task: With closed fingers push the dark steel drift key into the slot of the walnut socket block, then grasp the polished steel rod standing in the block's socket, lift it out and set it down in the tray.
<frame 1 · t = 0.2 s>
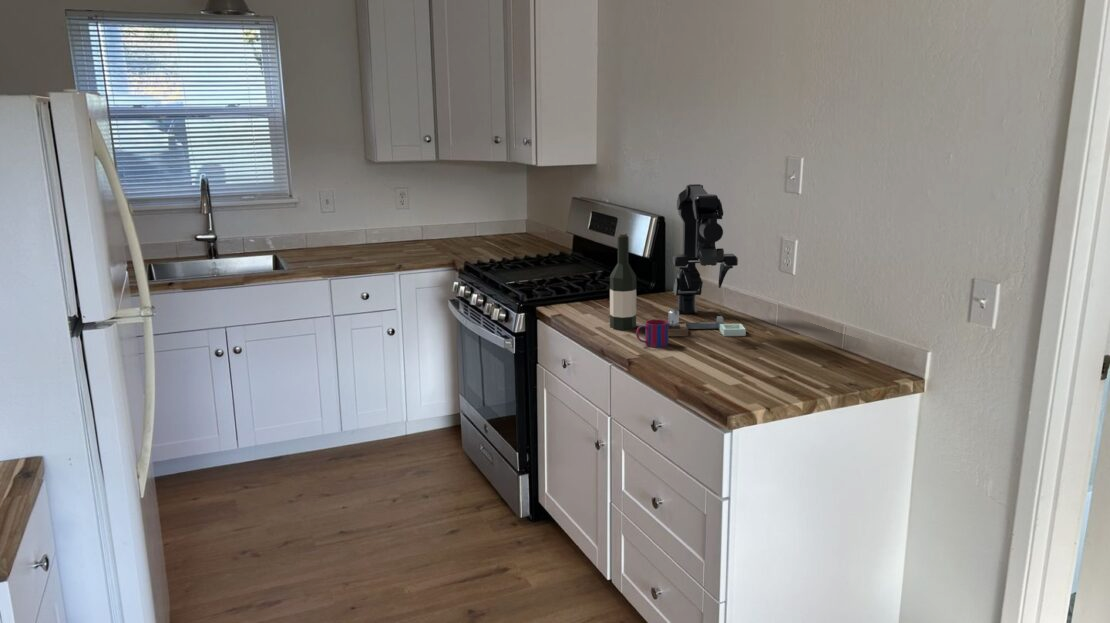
hand: (704, 287, 249), 14 cm above the countertop, fingers open, 9 cm apart
drift key: (704, 322, 257), point 2 cm above the countertop, slide at 0.0 cm
socket block: (672, 331, 254), on the countertop
wine bottle: (623, 327, 261), on the countertop
tray: (732, 333, 251), on the countertop
mug: (651, 345, 241), on the countertop
polished steel rod: (673, 333, 252), resting in socket block
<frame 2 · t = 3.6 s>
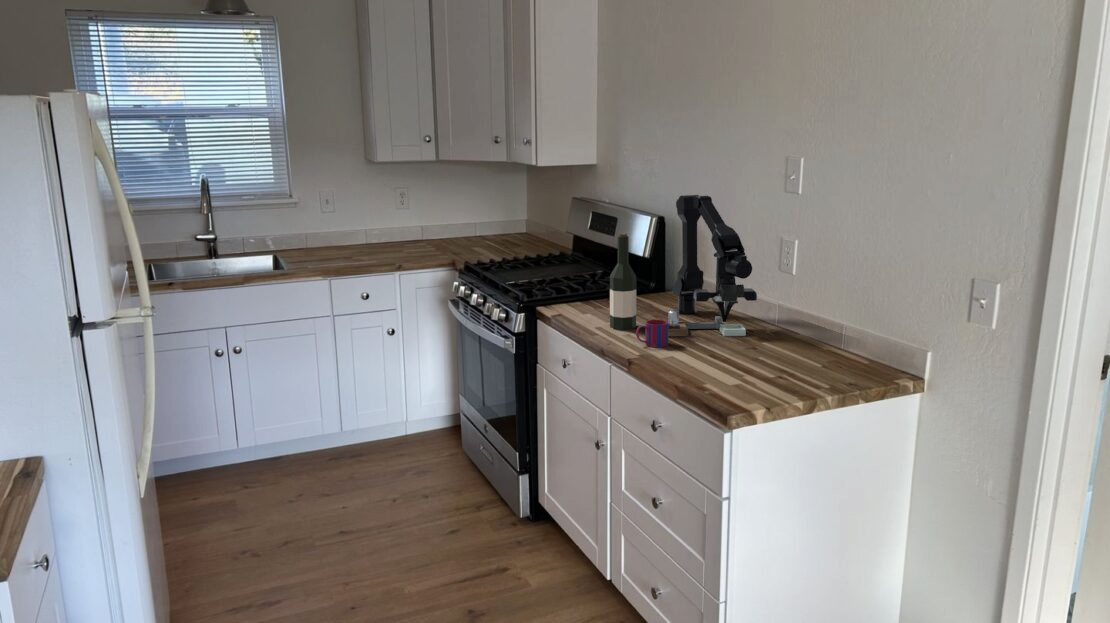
hand: (724, 321, 257), 2 cm above the countertop, fingers closed
drift key: (702, 322, 257), point 2 cm above the countertop, slide at 0.6 cm, touching gripper
everything else where it was.
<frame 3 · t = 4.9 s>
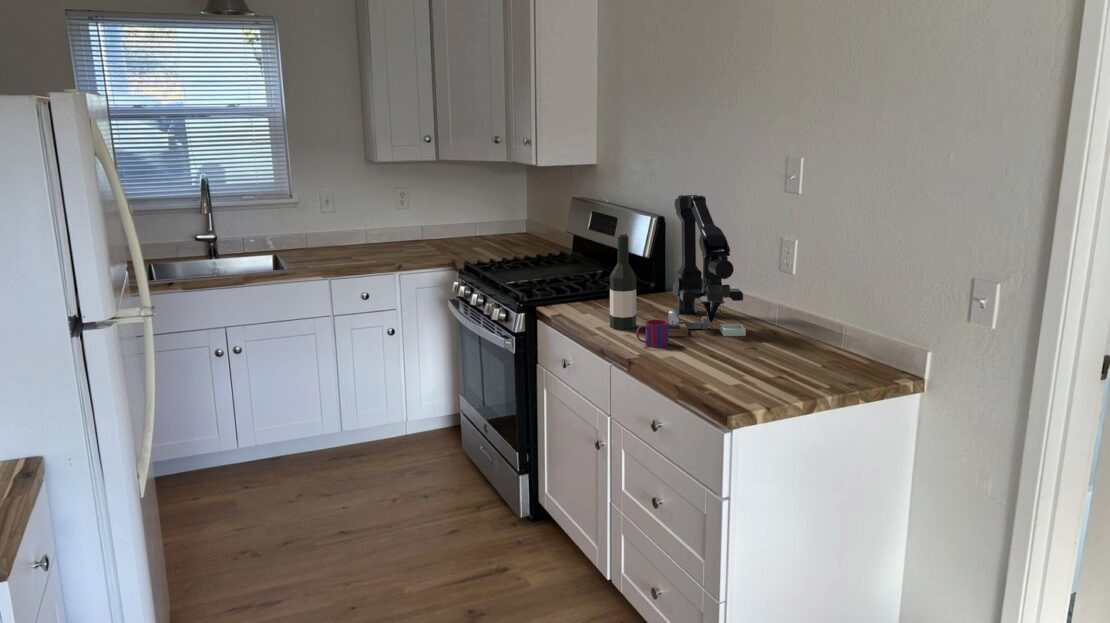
hand: (710, 321, 257), 2 cm above the countertop, fingers closed
drift key: (689, 323, 257), point 2 cm above the countertop, slide at 4.7 cm, touching gripper
everything else where it was.
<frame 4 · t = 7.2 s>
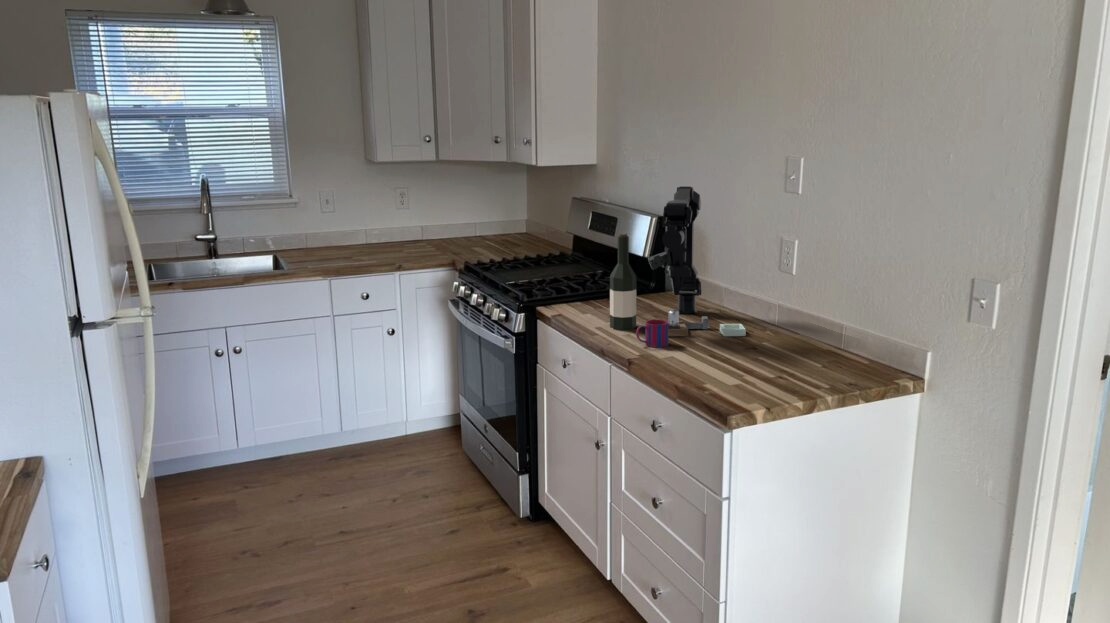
hand: (675, 294, 250), 12 cm above the countertop, fingers closed
drift key: (689, 323, 257), point 2 cm above the countertop, slide at 4.7 cm
everything else where it was.
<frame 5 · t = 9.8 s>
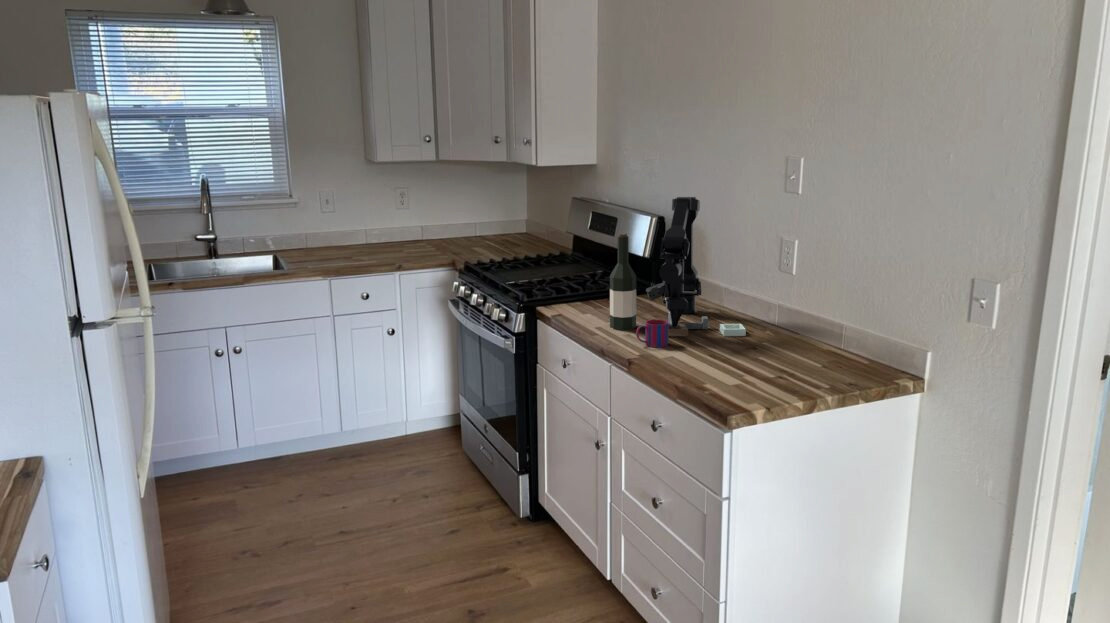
hand: (673, 325, 252), 3 cm above the countertop, fingers closed on polished steel rod, 3 cm apart
polished steel rod: (673, 333, 252), resting in socket block, touching gripper
everything else where it was.
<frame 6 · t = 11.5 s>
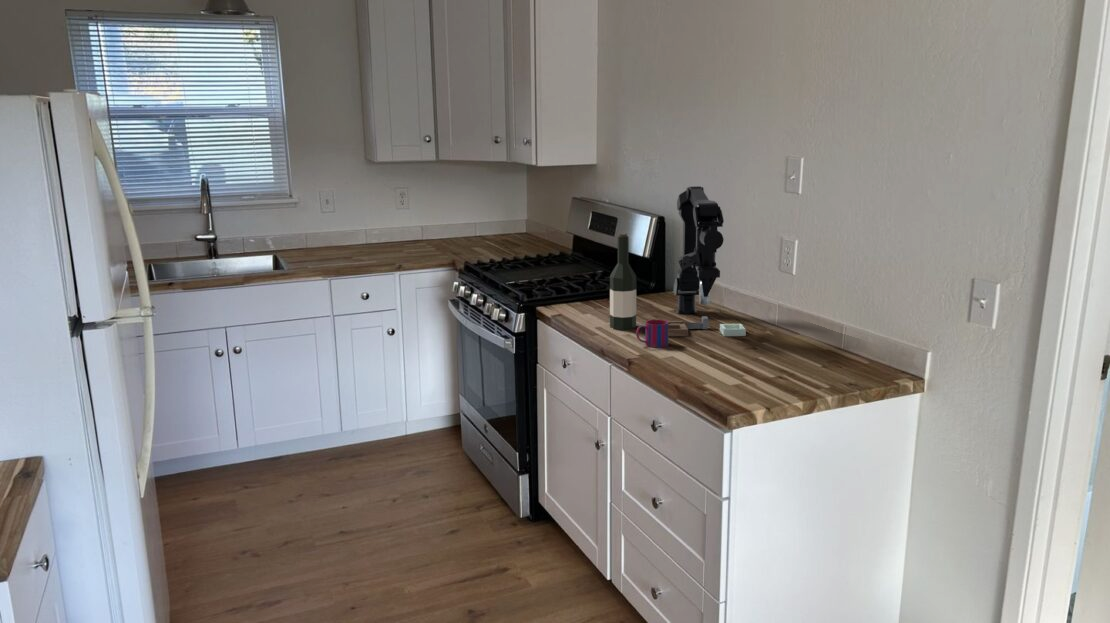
hand: (704, 295, 249), 12 cm above the countertop, fingers closed on polished steel rod, 3 cm apart
polished steel rod: (704, 303, 249), point 9 cm above the countertop, touching gripper
everything else where it was.
when the fingers open (4 cm above the countertop, at t = 13.6 s): polished steel rod drops 1 cm, resting on tray.
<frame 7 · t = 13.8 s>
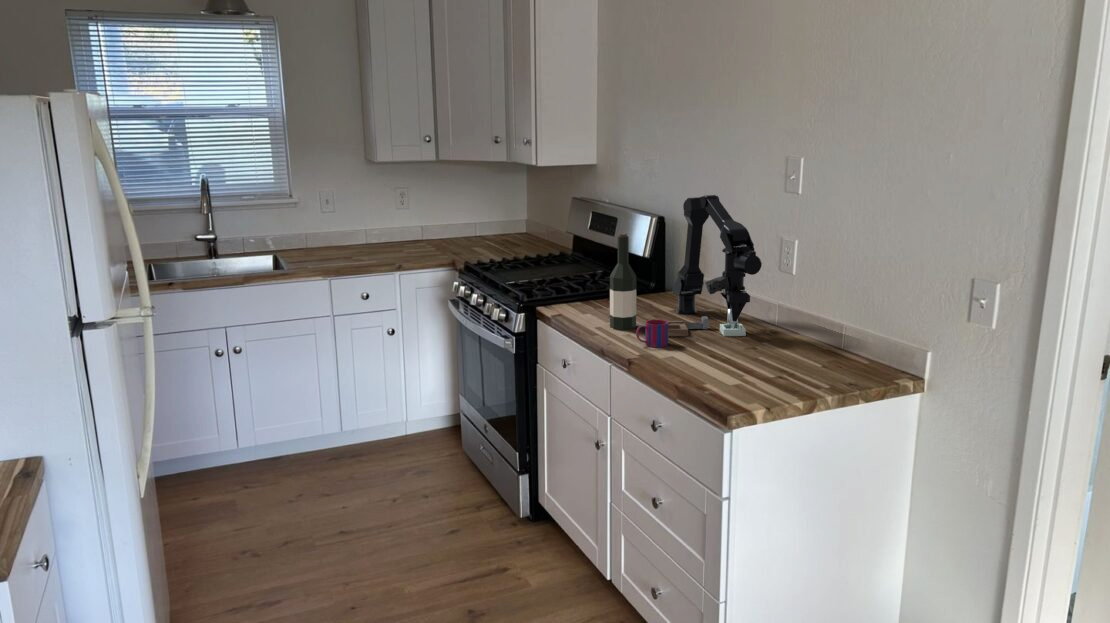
hand: (732, 319, 250), 4 cm above the countertop, fingers open, 5 cm apart
polished steel rod: (732, 331, 251), point 1 cm above the countertop, touching tray
everything else where it was.
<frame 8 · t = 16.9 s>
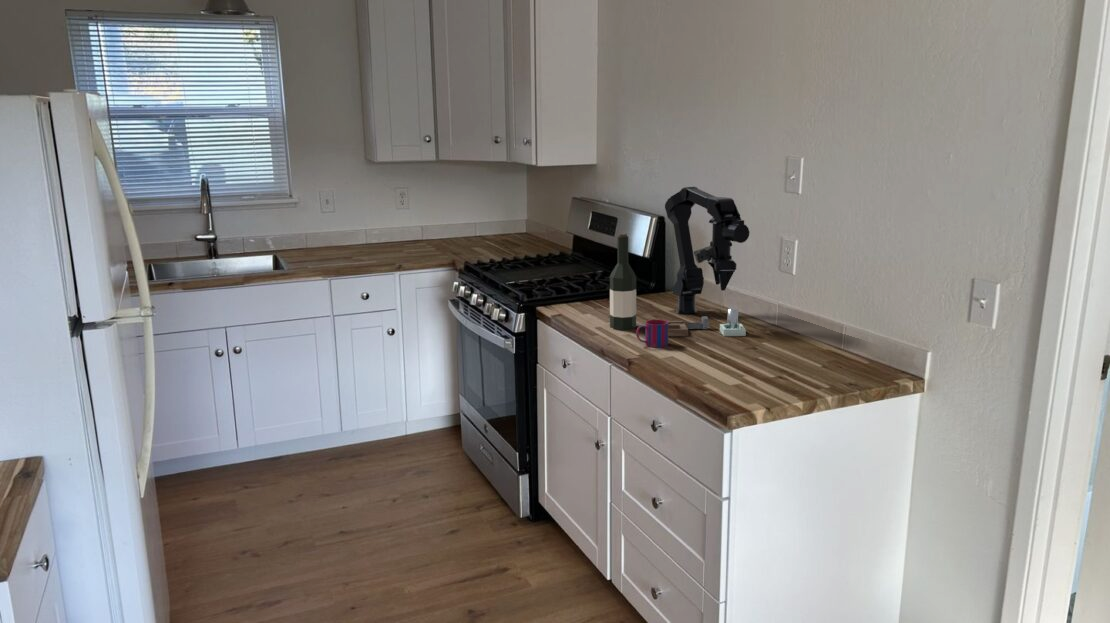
hand: (720, 287, 260), 12 cm above the countertop, fingers open, 9 cm apart
nothing on the countertop moved.
at the end: drift key slide at 4.7 cm; polished steel rod 0.0 cm off-centre on the tray, point 0.6 cm above the tray's base; polished steel rod tilted 0° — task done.
